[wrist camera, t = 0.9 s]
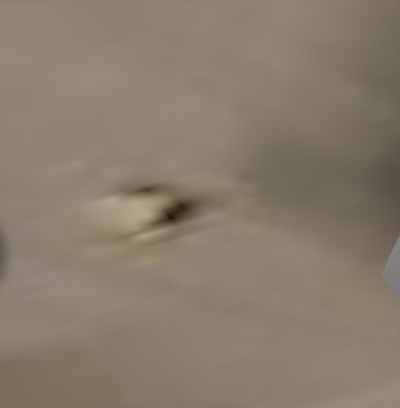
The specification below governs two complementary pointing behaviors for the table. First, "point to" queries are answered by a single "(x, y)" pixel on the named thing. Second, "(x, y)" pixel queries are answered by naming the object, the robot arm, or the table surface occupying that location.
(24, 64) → the table surface
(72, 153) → the table surface
